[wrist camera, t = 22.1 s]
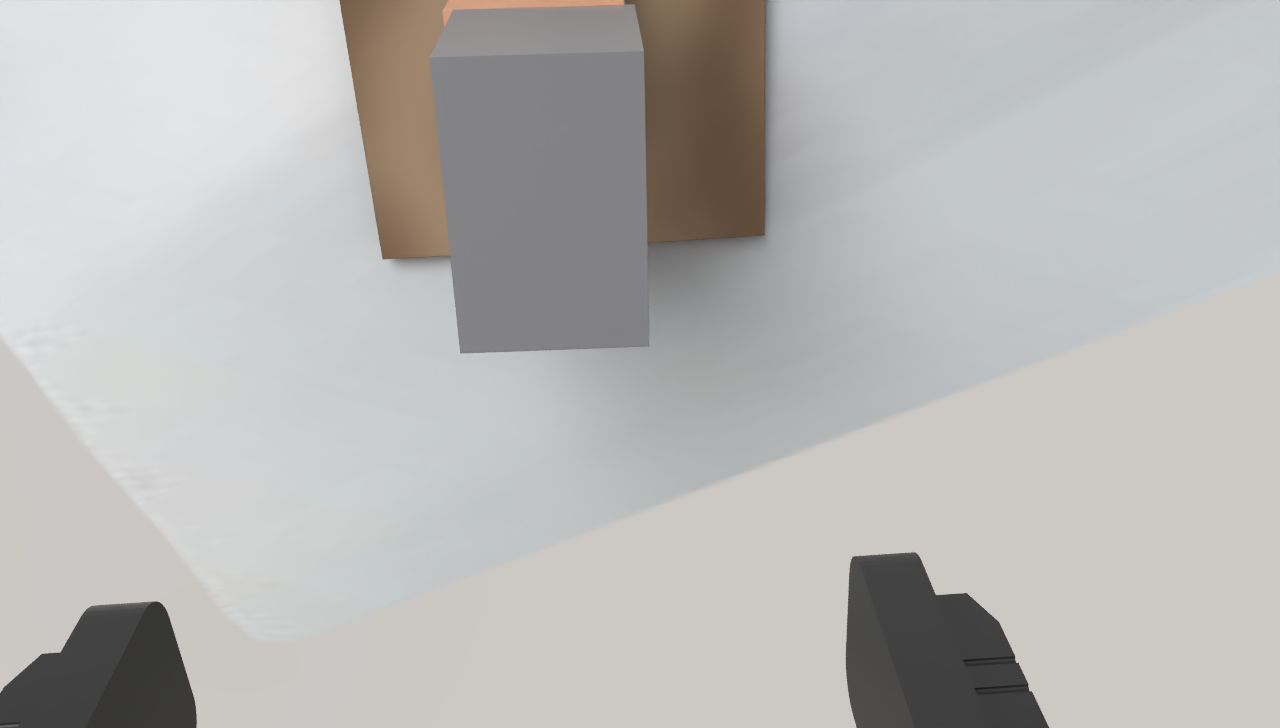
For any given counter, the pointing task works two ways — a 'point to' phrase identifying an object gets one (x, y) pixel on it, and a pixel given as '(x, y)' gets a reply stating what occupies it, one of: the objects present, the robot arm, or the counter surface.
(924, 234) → the counter surface
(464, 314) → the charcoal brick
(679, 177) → the plate
